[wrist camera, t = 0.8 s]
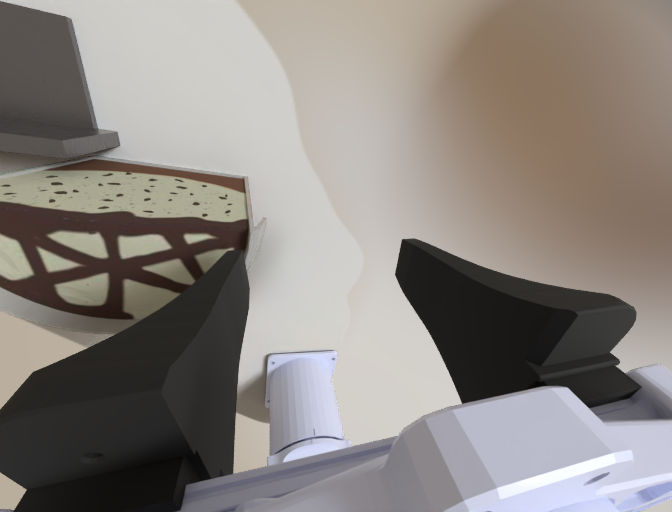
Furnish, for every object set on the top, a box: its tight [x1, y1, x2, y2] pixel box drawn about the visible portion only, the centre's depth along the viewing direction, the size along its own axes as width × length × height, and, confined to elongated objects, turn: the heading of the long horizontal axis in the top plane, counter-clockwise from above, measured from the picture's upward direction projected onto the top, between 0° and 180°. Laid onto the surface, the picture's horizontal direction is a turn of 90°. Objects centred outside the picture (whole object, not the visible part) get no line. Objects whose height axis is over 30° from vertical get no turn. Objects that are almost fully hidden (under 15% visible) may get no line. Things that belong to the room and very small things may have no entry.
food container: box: [0, 156, 267, 334], centre depth 15 cm, size 12×6×10 cm, turn 79°
